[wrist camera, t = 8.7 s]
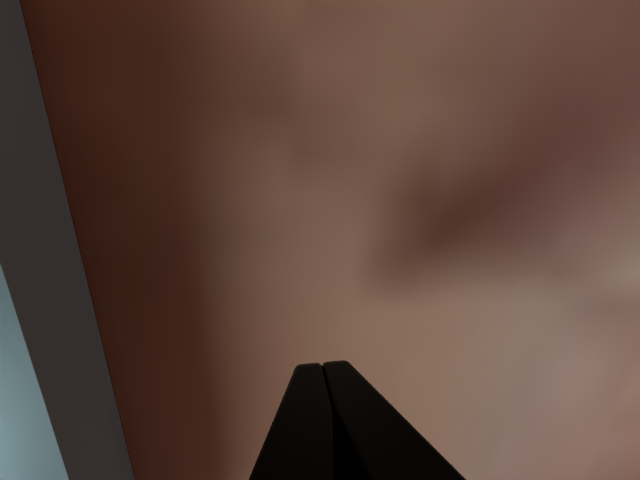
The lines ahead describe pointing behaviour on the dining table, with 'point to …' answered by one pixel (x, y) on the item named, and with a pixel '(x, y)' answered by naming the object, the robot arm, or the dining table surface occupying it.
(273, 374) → the dining table surface
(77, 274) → the tray
